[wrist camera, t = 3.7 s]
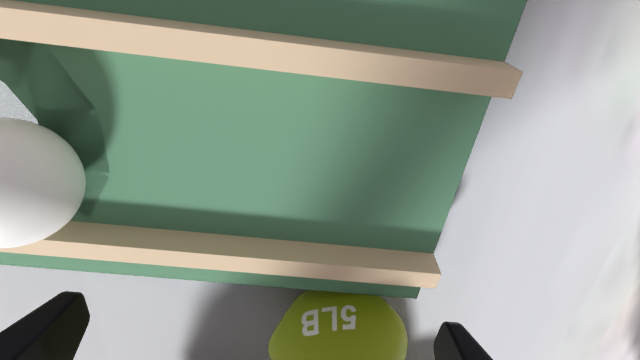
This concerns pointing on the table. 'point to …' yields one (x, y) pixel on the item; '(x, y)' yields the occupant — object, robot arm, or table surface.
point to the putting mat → (260, 132)
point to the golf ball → (36, 182)
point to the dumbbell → (339, 329)
